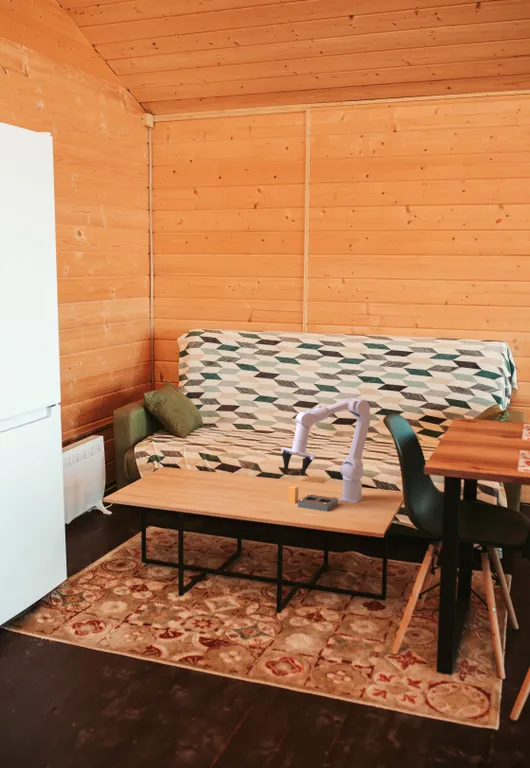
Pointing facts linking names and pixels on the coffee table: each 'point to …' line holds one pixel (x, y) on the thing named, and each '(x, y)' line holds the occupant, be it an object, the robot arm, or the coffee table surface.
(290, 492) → the orange rectangular block
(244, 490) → the coffee table surface
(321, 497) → the grey mounting plate
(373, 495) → the coffee table surface
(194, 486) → the coffee table surface
